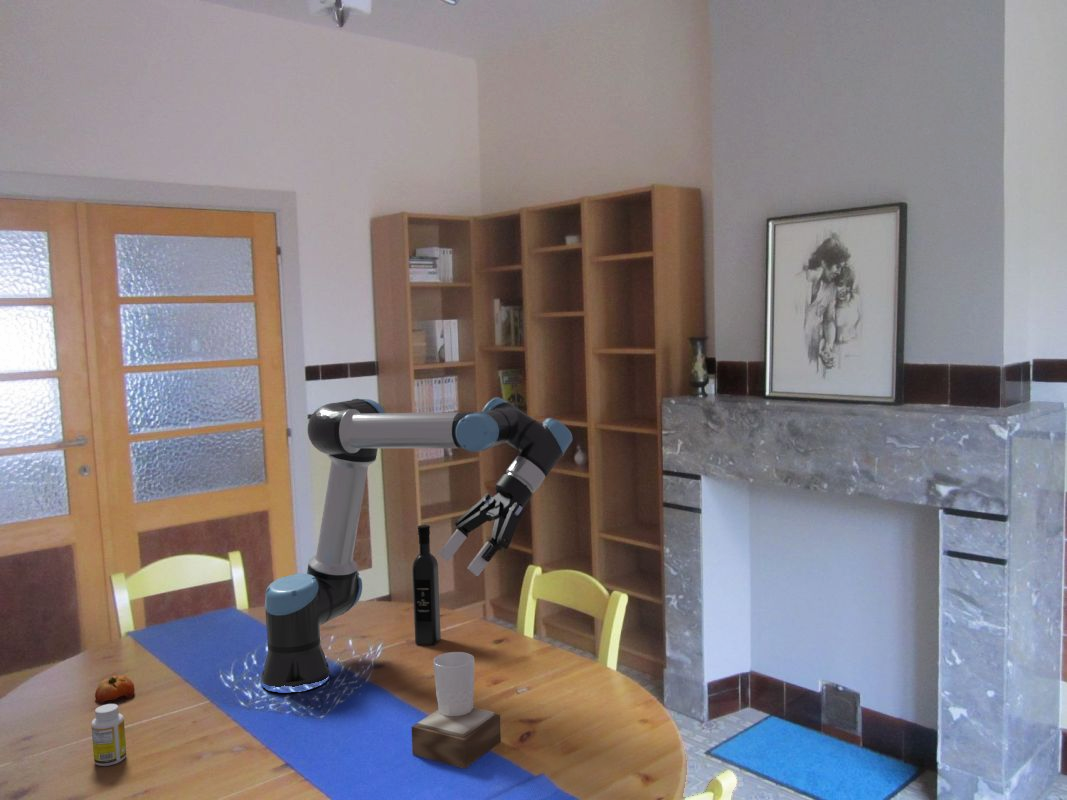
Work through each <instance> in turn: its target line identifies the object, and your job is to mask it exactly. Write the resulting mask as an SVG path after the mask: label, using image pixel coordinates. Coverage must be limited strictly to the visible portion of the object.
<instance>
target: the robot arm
mask: <svg viewBox="0 0 1067 800" xmlns="http://www.w3.org/2000/svg"><path fill="white" fill-rule="evenodd" d="M307 435H308V439H309V441H310V442H311V444H312V446H313V447H314V448H315V449H316V450H318V452H319V451H320V452H321V453H323V454H326V455H327V457H328V458H329V459H330V461H331V462H330V469H329V475H328V479H327V480H328V481H327V487H326V493H325V500H324V506H323V511H322V518H321V524H320V531H319V536H318V543H317V549H316V554H315V555H314V556H312V557H311V558H310V559H308V565H307V570H306V571H307V572H306V573H294V574H290V575H288V576H287V575H286V576H282V577H280V578H277V579H276V580H275V579H274V581H272V582H271V583H270V584H269V585H268V586H267V588H266V590H265V601H264V609H265V623H266V635H267V636H266V637H267V638H266V639H267V654H266V659H265V661H264V667H263V670H262V671H261V683H262V682H263V683H264V684H266V685H268V686H275V687H281V686H284V685H285V686H292V687H295V686H299V685H303V684H311V683H315V682H319V681H322V680H324V679H326V678H327V677H328V676H329V674H330V675H331V669H330V664H329V663H328V662H327V658H326V656H325V652H324V650H323V648H322V645H321V625H324V624H325V623H328V622H330V621H331V620H333V619H335V618H337V617H339V616H342V615H344V614H346V613H347V612H349V611H350V610H351V609H353V608H354V607H355V606H356V605H357V604H358V602H359V600H360V599H361V596H362V593H363V580H362V578H361V577H360V576H359V575H360V573H359V571H358V564H357V563H356V562H355V561H354V559H353V558H354V552H355V546H356V541H357V540H356V539H357V534H358V527H359V522H360V516H361V509H362V505H363V499H364V498H363V497H364V494H365V493H364V492H365V486H366V480H367V476H368V469H369V468H368V467H369V466H370V465H371V464H373V463H374V462H376V460H377V456H378V449H464V450H467V451H469V452H482V451H486V450H488V449H490V448H493V447H496V446H499V445H502V444H505V443H506V444H508V445H509V446H511V447H512V448H514V449H515V450H517V451H518V452H519V454H518V455H517V456H516V457H515V459H513V461H512V463H510V465H509V466H508V468H507V469H506V471H505V472H506V473H504V474H502V476H501V477H500V478H499V480H498V481H497V482H496V484H495V485H494V489H495V491H496V493H495V495H494V496H491V495H490V494H489V492H488V493H485V494H484V495H483V497H482V498H480V499H479V501H478V502H477V503H476V504H474V505H473V506H472V507H471V508H469V509H468V510H467V511H466V512H464V514H462V515H461V516H460V517H459V518H458V519H456V520H455V522H454V523H453V524H454V526H455V529H456V530H455V531H454V532H453V533H452V535H450V537H449V538H448V539H447V542H446V543H444V545H443V547H441V549H440V550H439V552H438V553H437V555H439V557H441V559H443V560H444V561H446V562H448V563H449V561H450V560H451V559H452V558H453V556H454V555H455V553H456V552H457V551H458V550H459V549H460V547H461V546H462V544H463V543H464V542H465V541H466V540H467V538H469V534H470V533H471V532H472V531H474V530H475V529H477V528H479V527H480V526H481V525H483V524H485V523H486V522H491V521H494V523H493V526H492V532H491V537H489V538H488V539H487V541H486V542H485V543H484V545H482V547H481V548H480V550H479V552H477V554H476V555H475V556H474V558H473V559H472V560H471V562H470V563H469V565H467V567H466V569H467V570H469V572H471V573H472V574H474V576H475V577H479V576H480V575H481V573H482V571H483V570H484V569H486V566H488V564H489V562H490V561H491V560H492V558H494V556H495V554H496V553H497V552H498V551H500V550H502V549H504V550H508V548H509V547H510V545H511V542H512V540H513V537H514V534H515V531H516V529H517V527H518V525H519V522H520V519H521V517H522V516H523V514H524V513H525V509H524V508H525V506H526V505H527V503H528V502H529V501H530V499H531V498H532V496H533V493H535V492H536V491H537V489H538V488H539V487H541V486H542V483H543V481H544V480H545V479H546V478H547V476H548V475H549V473H550V472H551V471H552V470H553V469H554V468H555V466H556V464H558V462H559V461H560V460H561V458H562V457H563V456H564V455H565V452H566V451H567V449H568V448H569V447H570V445H571V443H572V442H573V439H574V438H573V435H572V432H571V431H570V429H569V428H568V427H567V426H566V425H565V424H563V423H562V422H561V421H559V420H557V419H555V418H551V417H548V418H545V420H544V421H542V422H541V421H540V422H539V421H537V420H535V419H534V418H533V417H531V416H530V415H528V414H527V413H525V412H523V411H522V410H520V409H519V408H518V407H516V406H515V405H514V404H512V403H511V402H510V401H507V400H505V399H504V398H503V399H502V398H501V397H497V396H496V397H492V399H491V400H490V401H487V403H486V404H485V405H484V406H483V409H482V410H481V411H464V412H460V411H459V412H458V411H457V412H453V411H451V412H390V413H389V412H388V413H387V412H386V411H385V409H384V407H383V406H382V405H381V404H380V403H378V402H376V401H374V400H372V399H367V398H353V399H350V400H344V401H340V402H339V401H338V402H331V403H327V404H324V405H321V406H319V407H318V408H317V409H316V410H315V411H314V412H313V413H312V414H311V416H310V417H309V420H308V424H307Z"/></svg>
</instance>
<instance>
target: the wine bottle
mask: <svg viewBox="0 0 1067 800" xmlns="http://www.w3.org/2000/svg"><path fill="white" fill-rule="evenodd" d="M430 531H431V525H428V524H422V525H418V526H417V535H418V555H417V556H415V558H414V560H413V562H412V568H411V569H412V572H411V573H412V597H413V617H414V618H413V619H414V621H413V623H414V643H415V645H418V646H435V645H437V644H438V642H439V641H440V640H441V638H442V637H441V611H440V610H441V608H440V605H441V603H440V584H439V583H440V582H439V580H440V579H439V562H438V560H437V558H436V556H434V555H432V554H431V545H430V544H431V540H430V539H431V538H430V535H431V532H430Z"/></svg>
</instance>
